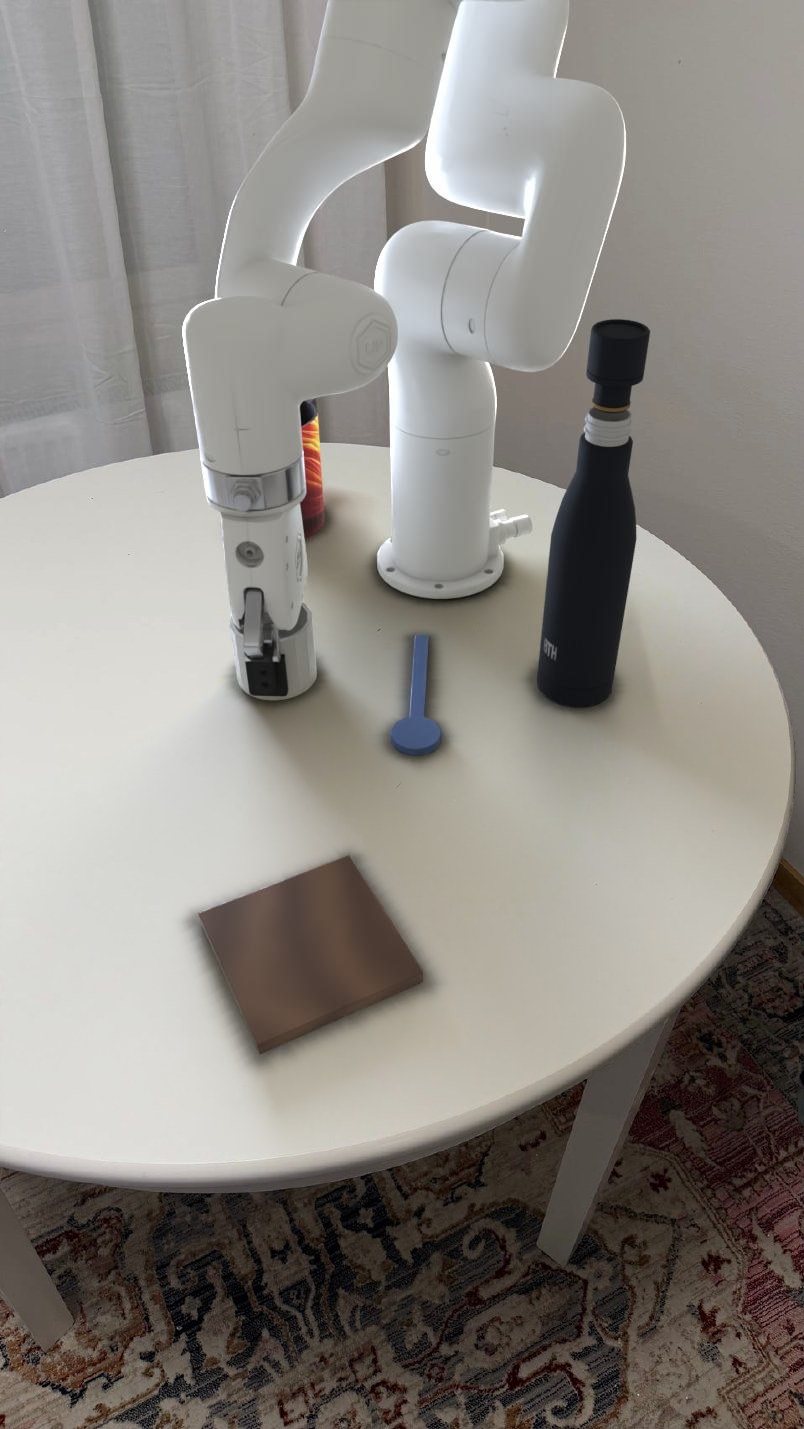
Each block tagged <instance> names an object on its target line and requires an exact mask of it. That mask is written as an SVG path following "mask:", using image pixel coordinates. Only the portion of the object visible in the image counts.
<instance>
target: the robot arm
mask: <svg viewBox="0 0 804 1429" xmlns="http://www.w3.org/2000/svg"><path fill="white" fill-rule="evenodd" d="M569 18H570V0H327V3H326V7H325V13H324V18H323V22H322V27H321V31H320V36H319V41H318V45H317V51H316V55H315V58H314V59H315V60H314V64H313V70H312V74H311V77H310V78H311V79H310V82H309V86H308V89H307V91H306V94H305V96H304V99H303V100H302V101H301V103H300V104H299V106H298V107H297V108H296V110H295V111H293V113H292V114H291V115H290V116H289V117H288V118H287V119H286V120H285V122H284V123H283V124H282V125H281V126H280V128H279V129H278V130H277V132H276V133H275V134H274V135H273V136H272V138H271V139H270V140H269V142H268V143H267V144H266V146H265V147H264V149H263V150H262V152H261V153H260V155H259V156H258V158H257V159H256V161H255V162H254V164H253V165H252V167H251V168H250V170H249V171H248V173H247V174H246V176H245V178H244V179H243V180H242V183H241V185H240V186H239V188H238V190H237V192H236V195H235V197H234V200H233V202H232V206H231V209H230V210H229V215H228V217H227V218H228V219H227V223H226V227H225V232H224V238H223V242H222V246H221V252H220V256H219V257H220V258H219V263H218V269H217V274H216V282H215V283H216V284H215V291H214V292H215V293H214V294H215V295H214V298H213V299H210V300H207V301H204V302H201V303H199V304H197V305H195V306H194V307H193V308H192V309H191V310H190V311H189V312H188V314H187V315H186V317H185V319H184V321H183V325H182V339H183V347H184V355H185V361H186V362H185V363H186V368H187V375H188V382H189V388H190V396H191V403H192V409H193V416H194V420H195V421H194V422H195V428H196V435H197V436H196V437H197V442H198V448H199V455H200V463H201V470H202V477H203V483H204V484H203V485H204V489H205V491H204V492H205V497H206V501H207V504H208V505H209V506H210V507H211V508H212V509H214V510H215V511H217V512H219V513H220V521H221V524H220V525H221V541H222V547H223V558H224V569H225V578H226V586H227V594H228V595H227V596H228V602H229V607H230V613H231V615H232V618H233V622H234V624H235V625H236V626H237V627H238V628H239V629H243V627H244V640H243V649H244V658H245V665H246V672H247V680H248V687H249V693H250V694H251V695H253V696H282V697H284V696H286V695H287V694H288V680H287V670H286V661H285V654H281V632H280V630H287V631H289V630H291V629H292V628H293V627H294V626H295V625H296V623H297V620H298V617H299V613H300V609H301V604H302V602H303V600H304V595H305V591H306V586H307V581H308V574H309V565H308V555H307V547H306V541H305V540H306V539H304V531H303V523H302V515H301V508H300V502H301V501H302V500H303V499H304V497H305V495H306V479H305V466H304V453H303V444H302V431H301V418H300V405H301V403H302V402H303V401H305V400H307V399H312V398H316V399H317V398H321V397H328V396H332V395H333V396H334V395H337V394H342V393H347V392H351V391H355V390H357V389H361V388H363V387H364V386H367V385H368V384H370V383H372V382H373V381H375V380H376V379H377V378H378V377H379V376H380V375H381V374H382V373H383V372H384V371H385V370H386V368H387V372H388V386H389V388H388V391H389V441H390V442H389V443H390V444H389V449H390V450H389V452H390V499H391V500H390V502H391V503H390V505H391V506H390V507H391V536H390V537H389V538H387V539H386V540H385V541H384V542H383V543H382V544H381V545H380V547H379V549H378V551H377V554H376V565H377V566H376V567H377V568H376V569H377V571H378V574H379V576H380V577H381V579H383V581H384V582H385V583H386V584H388V585H389V586H390V587H392V588H393V589H396V590H398V591H399V592H401V593H403V594H407V595H410V596H414V597H417V598H424V599H431V600H432V599H433V600H450V599H459V598H465V597H468V596H471V595H475V594H478V593H480V592H482V591H485V590H486V589H488V588H489V587H491V586H492V585H493V584H495V583H496V582H497V581H498V580H499V578H500V577H501V576H502V574H503V570H504V560H505V557H504V552H503V550H502V549H501V547H500V546H501V545H504V544H506V542H507V540H509V539H512V538H518V537H522V536H526V535H528V534H531V533H532V531H533V522H532V520H531V518H530V516H528V515H527V514H523V515H519V516H515V517H511V518H509V519H508V514H507V512H506V510H505V509H499V510H495V511H491V510H492V492H493V490H492V489H493V471H494V470H493V469H494V454H495V453H494V452H495V451H494V450H495V431H496V418H497V390H496V384H495V379H494V375H493V371H492V368H491V366H490V364H493V365H495V366H499V367H503V368H507V369H510V370H513V371H517V372H519V371H520V372H524V373H525V372H527V373H537V372H541V371H544V370H546V369H548V368H550V367H552V366H553V365H554V364H556V363H557V362H558V361H559V360H560V359H561V358H562V357H563V355H564V354H565V352H566V351H567V349H568V347H569V346H570V344H571V342H572V339H573V338H574V336H575V333H576V331H577V329H578V326H579V324H580V321H581V317H582V314H583V311H584V308H585V305H586V302H587V298H588V295H589V292H590V288H591V284H592V282H593V278H594V275H595V272H596V268H597V265H598V261H599V258H600V256H601V252H602V249H603V245H604V242H605V240H606V236H607V232H608V229H609V226H610V222H611V219H612V216H613V212H614V209H615V206H616V203H617V199H618V195H619V191H620V188H621V183H622V179H623V175H624V169H625V163H626V153H627V138H626V135H627V134H626V133H627V132H626V124H625V120H624V116H623V112H622V110H621V108H620V105H619V103H618V102H617V100H616V99H615V98H614V97H613V95H612V94H611V93H610V92H609V91H607V90H606V89H605V88H603V87H601V86H599V85H597V84H594V83H591V82H588V81H585V80H584V81H583V80H577V79H572V78H571V79H570V78H569V79H568V78H561V77H556V75H557V69H558V65H559V63H560V57H561V53H562V49H563V45H564V40H565V37H566V32H567V28H568V23H569ZM427 133H428V135H427ZM426 135H427V139H426V140H427V141H426V145H425V157H424V158H425V159H424V165H425V173H426V177H427V180H428V182H429V184H430V186H431V188H432V189H433V190H434V191H435V192H436V193H437V194H438V195H439V196H441V197H442V198H444V199H445V200H447V201H449V202H452V203H455V204H457V205H460V206H465V207H469V208H472V209H476V210H481V211H485V212H489V213H495V214H500V215H504V216H510V217H514V218H520V219H524V224H523V229H522V234H521V236H516V235H512V234H507V233H501V232H497V231H495V230H492V229H487V228H482V227H478V226H472V225H468V224H463V223H457V222H453V221H445V220H421V221H416V222H413V223H410V224H408V225H405V226H404V227H402V228H400V229H399V230H398V231H396V232H395V233H394V234H393V235H392V236H391V237H390V238H389V239H388V240H387V242H385V243H386V244H385V245H384V247H383V248H382V250H381V252H380V255H379V258H378V261H377V265H376V268H375V275H374V276H375V277H374V289H373V288H371V287H369V286H367V285H365V284H364V283H360V282H357V281H355V280H350V279H348V278H344V277H339V276H336V275H332V274H328V273H325V272H322V271H318V270H316V269H315V270H314V269H311V268H308V267H303V266H299V265H297V261H298V256H299V254H300V249H301V246H302V243H303V239H304V236H305V233H306V231H307V228H308V227H309V224H310V222H311V220H312V218H313V217H314V215H315V213H316V212H317V210H319V207H321V205H322V204H323V203H324V202H325V200H326V199H327V198H328V197H329V196H330V195H331V194H332V193H333V192H334V191H336V189H338V188H339V187H340V186H342V185H343V184H344V183H345V182H346V181H348V180H350V179H351V178H354V177H355V176H356V175H358V174H361V173H362V172H364V171H367V170H368V169H370V168H372V167H376V165H379V164H381V163H382V162H385V161H387V160H389V159H391V158H394V157H396V156H397V155H400V154H402V153H405V152H407V151H409V150H411V149H413V148H414V147H415V146H417V145H418V144H419V143H420V142H422V140H423V139H424V137H425V136H426ZM264 614H268V615H269V616H270V618H271V620H272V621H263V617H264ZM263 630H269V631H272V646H271V645H270V644H269V643H264V640H263ZM251 695H250V696H251ZM253 696H252V697H253Z"/></svg>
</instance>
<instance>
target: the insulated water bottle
mask: <svg viewBox="0 0 804 1429" xmlns="http://www.w3.org/2000/svg"><path fill="white" fill-rule="evenodd" d="M650 336H651V330H650V328H649V326H647V325H645V324H644V323H641V322H639V321H636V320H630V319H623V318H614V319H613V318H611V319H604V320H600V321H597V322H596V323H594V324H592V327H591V329H590V336H589V346H588V353H587V354H588V355H587V363H586V371H585V376H586V379H588V380H589V381H590V382H592V383H594V392H593V396H592V399H591V405H592V406H591V407H590V408H589V409H588V411H587V415H585V417H584V423H585V425H584V427H583V433H582V434H581V435H580V436H579V443H578V451H577V459H576V467H575V468H576V469H575V472H574V474H573V476H572V478H571V481H570V482H569V484H568V486H567V488H566V490H565V491H564V492H565V493H564V494H563V497H562V499H561V502H560V504H559V507H558V511H557V513H556V517H555V520H554V523H553V527H552V530H551V533H550V544H549V552H548V565H547V574H546V584H545V595H544V603H543V604H544V605H543V614H542V623H541V624H542V625H541V634H540V643H539V653H538V663H537V664H538V665H537V672H536V674H537V675H536V683H537V688H538V689H539V691H540V692H541V693H542V695H543V696H544V697H546V698H547V699H548V700H550V701H551V702H553V703H555V704H558V705H561V706H566V707H571V708H588V707H592V706H596V705H599V704H600V703H602V702H604V701H606V700H607V699H608V697H609V696H610V695H611V694H612V692H613V687H614V679H615V674H616V668H617V661H618V656H619V649H620V644H621V638H622V630H623V624H624V619H625V612H626V606H627V601H628V594H629V588H630V583H631V582H630V581H631V575H632V571H633V570H632V569H633V564H634V563H633V562H634V556H635V552H636V545H637V538H638V537H637V516H636V515H637V514H636V506H635V501H634V496H633V491H632V487H631V486H632V485H631V482H630V476H629V472H630V466H631V458H632V452H633V445H634V440H633V438H632V436H631V435H632V432H633V430H632V426H633V423H634V421H633V418H632V411H630V410H629V409H630V407H631V404H632V401H631V397H632V389H633V386H636V385H638V384H640V383H641V382H643V380H644V376H645V370H646V363H647V357H648V350H649V343H650Z"/></svg>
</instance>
